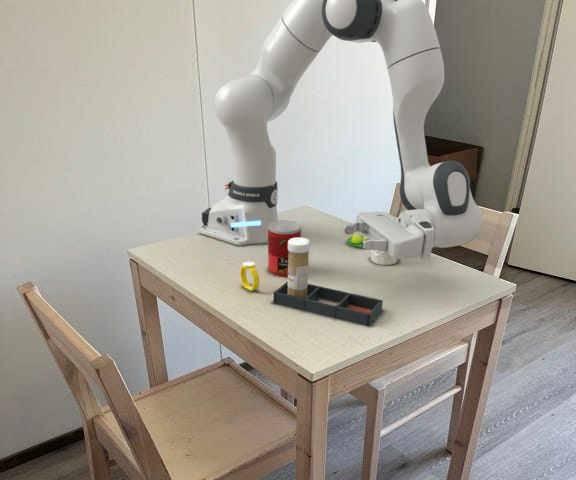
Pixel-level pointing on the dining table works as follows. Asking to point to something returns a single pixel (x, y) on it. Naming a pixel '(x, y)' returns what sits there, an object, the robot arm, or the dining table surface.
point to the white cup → (382, 257)
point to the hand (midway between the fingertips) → (353, 237)
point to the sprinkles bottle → (298, 266)
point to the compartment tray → (339, 311)
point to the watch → (254, 273)
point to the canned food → (280, 245)
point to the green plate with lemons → (356, 240)
